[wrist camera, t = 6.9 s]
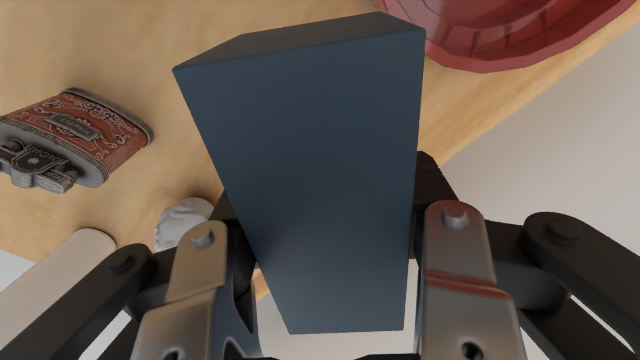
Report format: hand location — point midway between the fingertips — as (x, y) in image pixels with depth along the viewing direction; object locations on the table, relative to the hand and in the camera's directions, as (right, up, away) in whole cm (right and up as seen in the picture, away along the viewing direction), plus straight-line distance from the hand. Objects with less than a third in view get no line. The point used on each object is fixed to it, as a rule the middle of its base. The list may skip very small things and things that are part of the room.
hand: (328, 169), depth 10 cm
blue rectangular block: (0, 0, +1) cm, 0 cm away
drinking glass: (-31, -9, +26) cm, 41 cm away
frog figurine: (-15, -3, +22) cm, 27 cm away
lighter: (-21, +6, +16) cm, 27 cm away
